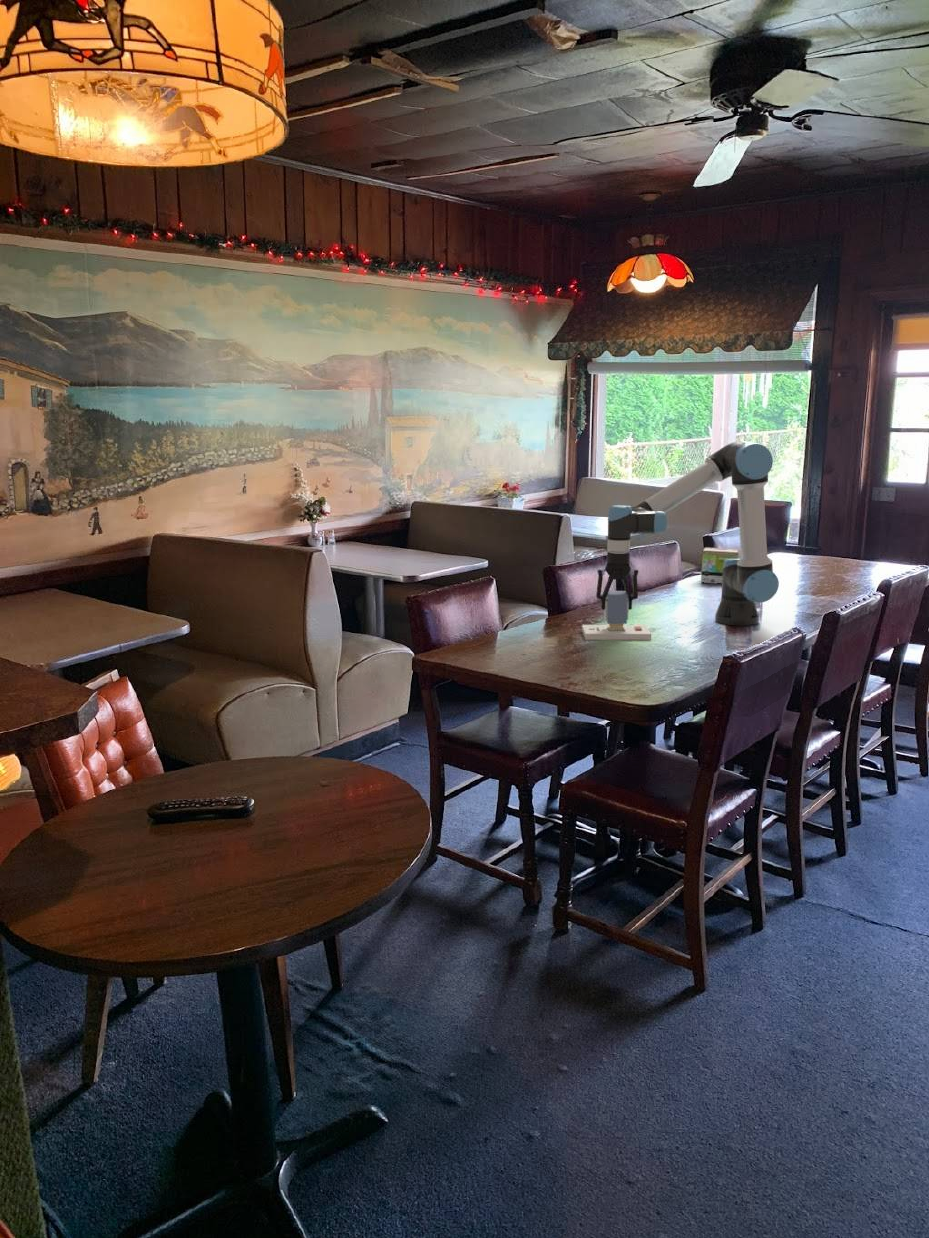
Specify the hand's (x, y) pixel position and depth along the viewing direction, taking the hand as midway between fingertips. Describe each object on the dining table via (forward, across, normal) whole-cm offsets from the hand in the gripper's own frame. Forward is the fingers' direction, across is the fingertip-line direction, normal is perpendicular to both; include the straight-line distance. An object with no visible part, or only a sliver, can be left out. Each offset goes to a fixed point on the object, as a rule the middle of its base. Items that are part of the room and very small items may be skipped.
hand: (616, 618), depth 318 cm
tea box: (+6, -57, -98) cm, 114 cm away
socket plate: (+6, 0, 0) cm, 6 cm away
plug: (+3, 0, 0) cm, 3 cm away
